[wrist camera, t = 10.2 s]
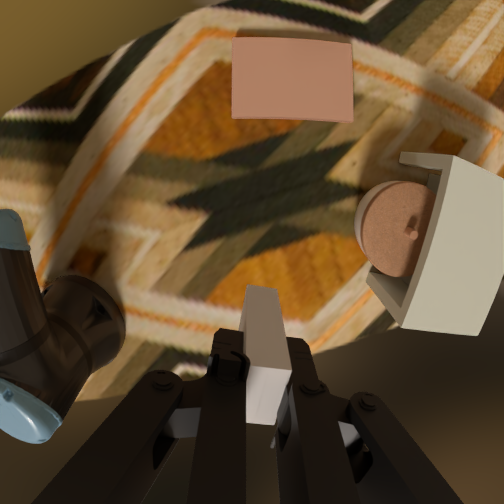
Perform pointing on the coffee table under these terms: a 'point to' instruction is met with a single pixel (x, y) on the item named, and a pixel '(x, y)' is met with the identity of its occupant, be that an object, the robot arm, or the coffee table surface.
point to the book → (291, 79)
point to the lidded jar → (394, 225)
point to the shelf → (451, 251)
